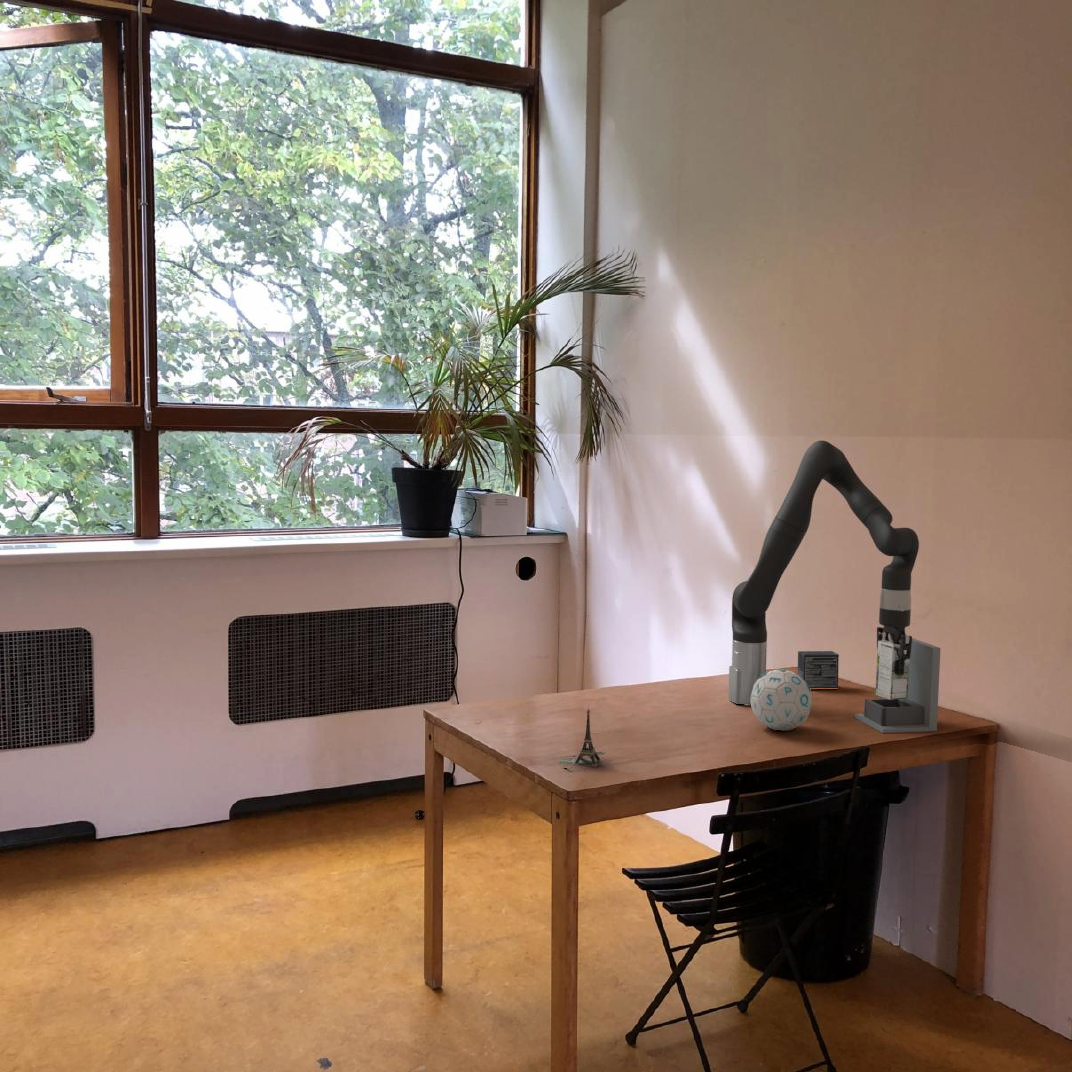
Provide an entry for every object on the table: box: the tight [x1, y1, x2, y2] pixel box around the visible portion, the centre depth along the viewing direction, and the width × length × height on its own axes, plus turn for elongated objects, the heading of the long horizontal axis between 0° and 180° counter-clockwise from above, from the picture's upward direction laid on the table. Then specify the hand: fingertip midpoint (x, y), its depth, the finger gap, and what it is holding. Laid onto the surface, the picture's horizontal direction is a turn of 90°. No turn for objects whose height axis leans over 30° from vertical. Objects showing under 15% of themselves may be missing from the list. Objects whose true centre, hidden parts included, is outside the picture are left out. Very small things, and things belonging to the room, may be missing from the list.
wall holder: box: [854, 637, 941, 734], centre depth 278 cm, size 14×15×21 cm
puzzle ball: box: [750, 669, 813, 732], centre depth 272 cm, size 15×15×15 cm
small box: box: [797, 650, 840, 689], centre depth 319 cm, size 11×6×10 cm, turn 94°
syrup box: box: [874, 640, 910, 700], centre depth 277 cm, size 6×6×14 cm
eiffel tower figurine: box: [555, 705, 606, 772], centre depth 242 cm, size 15×10×13 cm
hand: (892, 671), depth 277 cm, fingers closed on syrup box, 6 cm apart
